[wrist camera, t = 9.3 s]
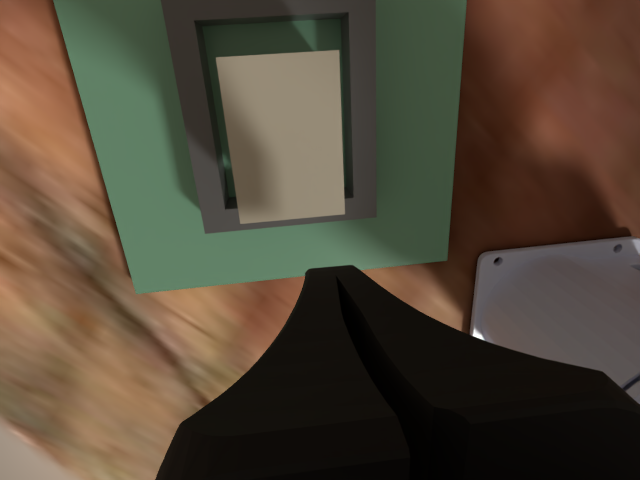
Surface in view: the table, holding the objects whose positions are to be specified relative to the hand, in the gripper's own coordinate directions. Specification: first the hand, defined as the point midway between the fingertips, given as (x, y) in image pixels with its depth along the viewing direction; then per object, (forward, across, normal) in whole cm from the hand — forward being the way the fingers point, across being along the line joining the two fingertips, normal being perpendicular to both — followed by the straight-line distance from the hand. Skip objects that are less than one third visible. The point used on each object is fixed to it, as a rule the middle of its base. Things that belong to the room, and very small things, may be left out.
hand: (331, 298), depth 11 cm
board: (+9, +1, -4) cm, 10 cm away
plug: (+8, +1, -4) cm, 9 cm away
